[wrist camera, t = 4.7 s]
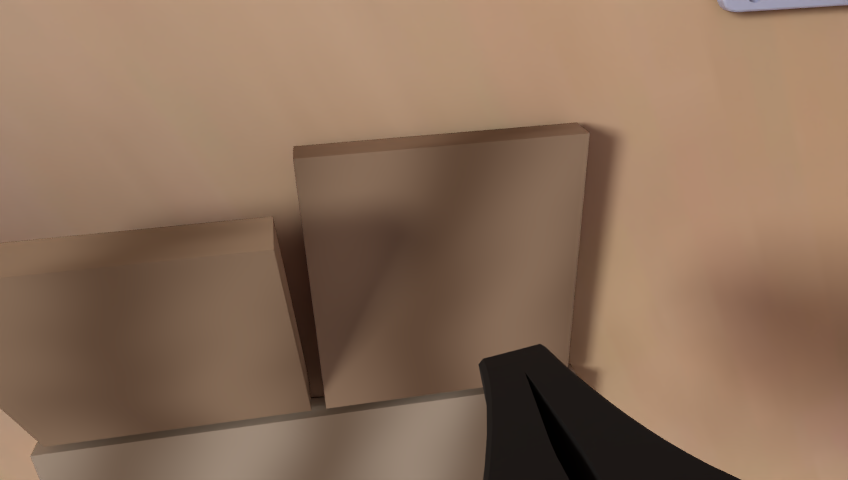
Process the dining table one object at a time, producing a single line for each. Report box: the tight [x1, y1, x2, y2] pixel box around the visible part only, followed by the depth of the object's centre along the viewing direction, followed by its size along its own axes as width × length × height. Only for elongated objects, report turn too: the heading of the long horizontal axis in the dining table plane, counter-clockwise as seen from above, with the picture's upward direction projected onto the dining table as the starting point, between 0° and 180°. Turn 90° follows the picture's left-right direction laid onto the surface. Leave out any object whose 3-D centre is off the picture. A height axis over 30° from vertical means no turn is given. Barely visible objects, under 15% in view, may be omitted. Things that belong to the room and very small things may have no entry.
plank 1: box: [0, 217, 311, 447], centre depth 18 cm, size 8×9×1 cm
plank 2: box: [293, 123, 590, 409], centre depth 21 cm, size 8×9×1 cm
